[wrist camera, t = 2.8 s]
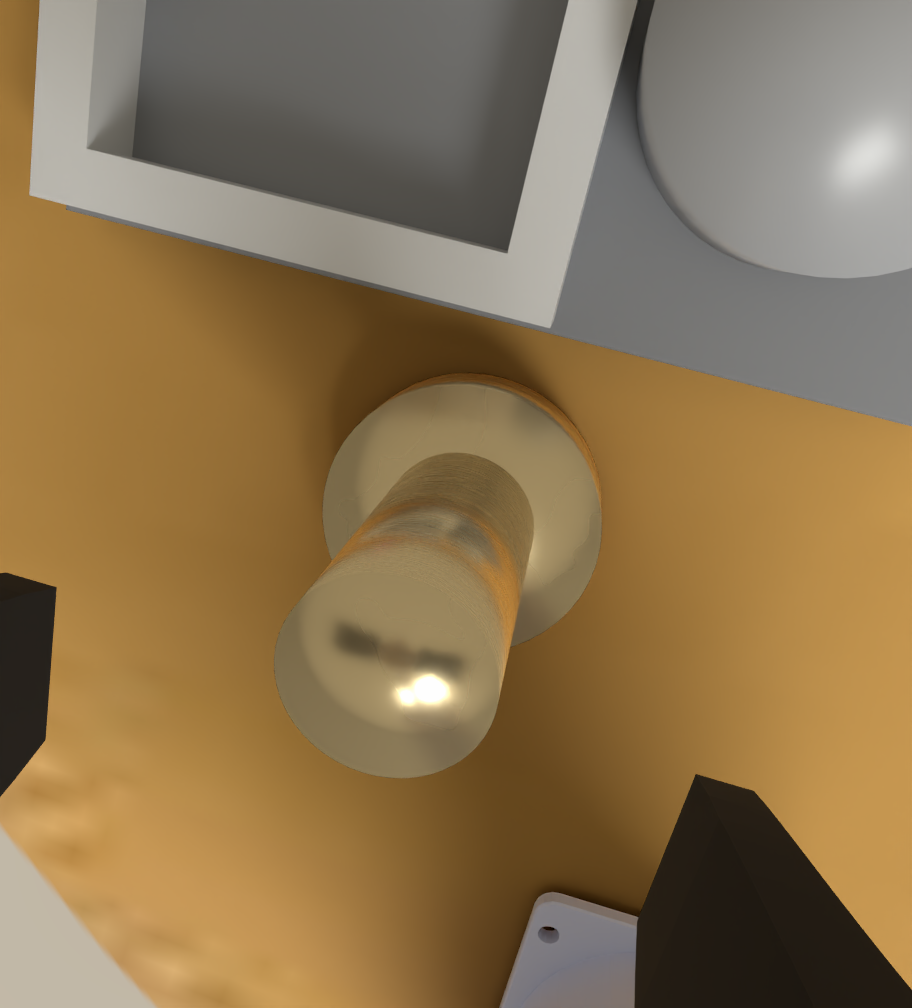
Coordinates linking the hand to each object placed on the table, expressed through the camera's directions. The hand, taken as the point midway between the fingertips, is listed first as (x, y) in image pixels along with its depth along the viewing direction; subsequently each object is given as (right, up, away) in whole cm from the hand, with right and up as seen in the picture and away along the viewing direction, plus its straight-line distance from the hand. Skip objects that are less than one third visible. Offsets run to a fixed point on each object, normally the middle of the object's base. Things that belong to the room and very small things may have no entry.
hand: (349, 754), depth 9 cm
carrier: (+3, +11, +6) cm, 13 cm away
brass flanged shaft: (+1, +3, +9) cm, 9 cm away
